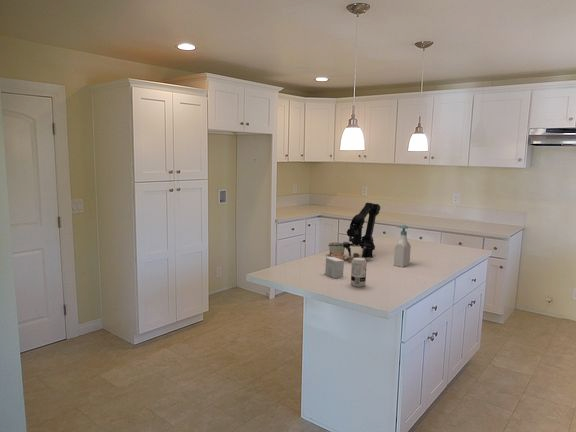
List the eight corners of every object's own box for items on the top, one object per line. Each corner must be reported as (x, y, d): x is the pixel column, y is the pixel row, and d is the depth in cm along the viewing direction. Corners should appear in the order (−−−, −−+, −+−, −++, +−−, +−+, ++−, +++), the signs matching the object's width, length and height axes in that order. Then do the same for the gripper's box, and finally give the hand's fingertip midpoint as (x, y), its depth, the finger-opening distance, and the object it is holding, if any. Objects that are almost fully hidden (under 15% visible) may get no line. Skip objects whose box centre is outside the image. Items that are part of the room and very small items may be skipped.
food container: (344, 256, 306) (345, 242, 304) (345, 258, 300) (345, 244, 298) (327, 255, 307) (328, 241, 306) (327, 257, 301) (328, 243, 299)
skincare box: (343, 277, 252) (344, 260, 250) (334, 278, 248) (335, 261, 247) (333, 273, 261) (334, 256, 259) (324, 274, 257) (325, 257, 256)
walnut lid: (362, 259, 295) (362, 252, 295) (365, 263, 285) (366, 256, 284) (346, 258, 295) (347, 252, 294) (349, 262, 284) (349, 255, 283)
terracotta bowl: (342, 260, 294) (343, 253, 293) (344, 263, 285) (345, 256, 284) (329, 259, 294) (330, 253, 293) (331, 263, 285) (331, 256, 284)
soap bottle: (398, 262, 292) (400, 223, 288) (409, 264, 287) (412, 224, 283) (391, 265, 283) (393, 225, 279) (402, 267, 278) (405, 226, 274)
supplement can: (349, 282, 241) (350, 257, 239) (363, 282, 241) (364, 257, 239) (352, 287, 233) (353, 260, 231) (367, 287, 233) (368, 260, 231)
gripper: (368, 233, 296) (367, 255, 298) (341, 232, 295) (340, 254, 297) (372, 236, 285) (370, 258, 287) (344, 235, 284) (343, 258, 286)
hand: (356, 257), depth 289 cm, fingers open, 8 cm apart
